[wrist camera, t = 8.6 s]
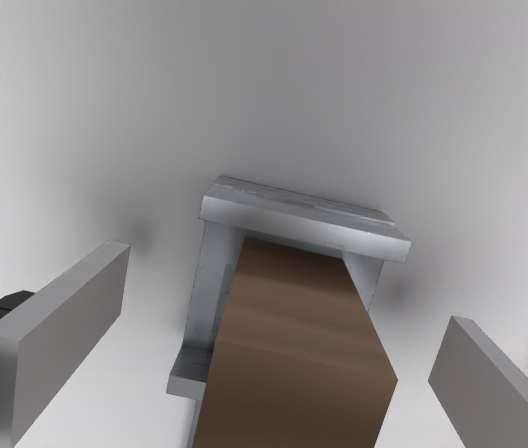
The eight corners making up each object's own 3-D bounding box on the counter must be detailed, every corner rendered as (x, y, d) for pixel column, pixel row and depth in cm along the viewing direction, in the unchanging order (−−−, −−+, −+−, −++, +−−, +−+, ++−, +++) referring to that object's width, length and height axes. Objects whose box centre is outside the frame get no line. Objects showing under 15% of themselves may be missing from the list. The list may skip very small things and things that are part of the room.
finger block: (245, 236, 17) (216, 339, 9) (342, 259, 17) (398, 379, 9) (221, 338, 18) (178, 507, 10) (313, 359, 18) (340, 542, 10)
